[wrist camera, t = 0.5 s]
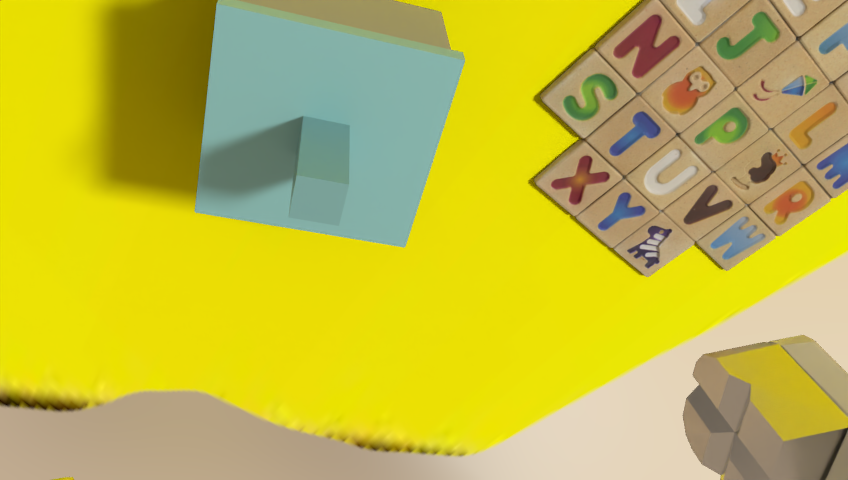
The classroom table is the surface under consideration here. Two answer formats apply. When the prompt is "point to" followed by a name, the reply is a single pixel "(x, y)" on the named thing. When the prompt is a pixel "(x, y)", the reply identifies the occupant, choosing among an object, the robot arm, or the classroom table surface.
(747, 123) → the alphabet tiles
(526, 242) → the classroom table surface
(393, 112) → the lid
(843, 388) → the robot arm
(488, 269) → the classroom table surface
